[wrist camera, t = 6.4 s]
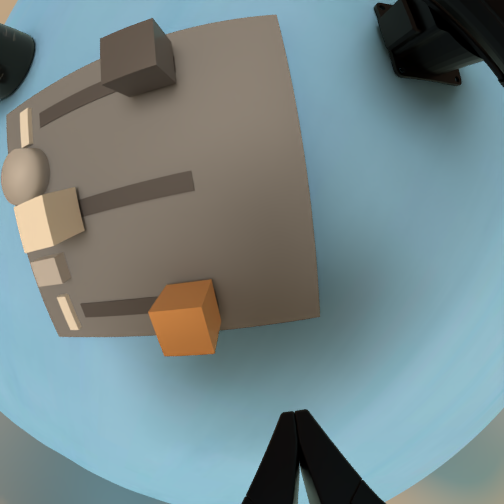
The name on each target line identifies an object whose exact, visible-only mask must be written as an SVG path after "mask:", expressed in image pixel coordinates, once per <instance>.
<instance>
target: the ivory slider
mask: <svg viewBox="0 0 504 504" xmlns="http://www.w3.org/2000/svg"><path fill="white" fill-rule="evenodd" d="M14 211H15V216H16V220H17V225H18V229H19V233H20V237H21V241H22V244H23V248H24V251H25V253H28V252H32V251H36V250H40V249H44V248H48V247H51V246H55V245H57V244H59V243H61V242H62V241H64V240H66V239H68V238H70V237H73V236H75V235H77V234H79V233H81V232H83V231H85V230H84V226H83V222H82V218H81V213H80V209H79V204H78V199H77V195H76V189H75V187H73V188H69V189H64V190H60V191H55V192H51V193H47V194H43V195H40V196H38V197H35V198H33V199H31V200H29V201H26V202H24V203H22V204H20V205H18V206H15V207H14Z"/></svg>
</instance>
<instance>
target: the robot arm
mask: <svg viewBox="0 0 504 504" xmlns="http://www.w3.org/2000/svg"><path fill="white" fill-rule="evenodd" d="M380 8H382V9H383V10H381V9H380ZM374 9H375V11H376V14H377V17H378V19H379V20H378V23H379V26H380V29H381V32H382V35H383V38H384V41H385V44H386V47H387V49H388V50H389V54H390V57H391V61H392V65H393V68H394V72H395V73H396V75H397V76H399V77H403V78H411V79H419V80H426V81H432V82H438V83H444V84H449V85H454V86H458V85H461V83H462V82H461V77H460V73H459V68H462V67H465V66H468V65H471V64H475V63H478V62H481V61H485V63H486V64H487V65H488V66H489V67H490V69H491V70H492V71H493V73H494V74H495V75H496V76H497V78H498V81H499V82H500V84H501V85H502V86H503V87H504V0H398V1H397V2H396V3H395V4H394V5H389V4H384V3H377V4H376V5H375V7H374ZM399 68H401V69H402V71H403V73H402V72H401V71H400V70H399ZM455 79H456V80H455ZM299 462H300V465H299ZM300 468H301V473H302V477H303V481H304V484H305V488H306V492H307V496H308V499H309V503H310V504H386V503H385V502H384V501H382V500H381V499H380V498H379V497H378V496H377V495H376V494H375V493H374V492H373V490H372V489H371V488H370V487H369V486H368V485H367V484H366V483H365V481H364V480H362V478H361V477H360V476H359V474H358V473H357V472H356V471H355V469H354V468H353V467H352V466H351V465H350V463H349V462H348V461H347V460H346V458H345V457H344V456H343V455H342V453H341V452H340V451H339V450H338V448H337V447H336V446H335V445H334V443H333V442H332V441H331V440H330V438H329V437H328V436H327V434H326V433H325V432H324V431H323V429H322V428H321V427H320V425H319V424H318V423H317V421H316V420H315V419H314V418H313V416H312V415H311V414H310V412H309V411H308V410H306V409H304V410H297V411H295V413H294V412H293V411H290V412H283V413H281V415H280V418H279V420H278V423H277V425H276V428H275V430H274V433H273V435H272V438H271V440H270V442H269V445H268V447H267V450H266V452H265V454H264V457H263V459H262V461H261V463H260V466H259V468H258V470H257V472H256V475H255V477H254V479H253V481H252V483H251V485H250V488H249V490H248V492H247V494H246V497H245V498H244V500H243V502H242V504H298V491H299V474H300ZM361 480H362V481H361Z"/></svg>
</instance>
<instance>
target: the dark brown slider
mask: <svg viewBox="0 0 504 504" xmlns="http://www.w3.org/2000/svg"><path fill="white" fill-rule="evenodd" d="M100 65H101V85H103V86H105V87H107V88H110V89H112V90H114V91H116V92H119V93H121V94H123V95H125V96H127V97H132V96H135V95H138V94H141V93H144V92H147V91H151V90H154V89H157V88H161V87H164V86H168V85H171V84H175V83H176V78H175V70H174V61H173V53H172V43H171V41H170V40H169V39H168V37H167V36H166V35H165V33H164V32H163V31H162V29H161V28H160V27H159V25H158V24H157V23H156V22H155V20H154V19H153V18H151V19H148V20H146V21H143V22H140V23H137V24H134V25H132V26H129V27H127V28H124V29H122V30H119V31H117V32H114V33H112V34H110V35H107V36H105V37H103V38H101V39H100Z"/></svg>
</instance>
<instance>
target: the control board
mask: <svg viewBox="0 0 504 504" xmlns="http://www.w3.org/2000/svg"><path fill="white" fill-rule="evenodd" d="M166 36H167V37H168V39H169V40H170V41H171V43H172V53H173V61H174V70H175V78H176V83H175V84H171V85H168V86H164V87H161V88H157V89H154V90H151V91H147V92H144V93H141V94H138V95H135V96H132V97H127V96H125V95H123V94H121V93H119V92H116V91H114V90H112V89H110V88H107V87H105V86H103V85H101V65H100V59H99V60H97V61H95V62H92V63H90V64H88V65H86V66H84V67H82V68H80V69H78V70H76V71H75V72H73V73H71V74H69V75H67V76H65V77H63V78H62V79H60V80H58V81H57V82H55V83H53V84H51V85H50V86H48V87H47V88H45V89H43V90H42V91H40V92H39V93H37V94H36V95H34V96H32V97H31V98H30V99H28V100H27V101H25V102H24V103H22V104H21V105H19V106H18V107H17V108H15V109H14V110H13V111H11V112H10V113H9V114H7V144H8V156H7V157H6V159H5V161H4V164H3V167H2V173H1V184H2V189H3V193H4V195H5V197H6V199H7V200H8V201H9V202H10V203H11V204H13V205H15V206H18V205H20V204H22V203H24V202H26V201H29V200H31V199H33V198H35V197H38V196H40V195H43V194H47V193H51V192H55V191H60V190H64V189H69V188H73V187H75V189H76V195H77V199H78V204H79V209H80V213H81V218H82V222H83V226H84V230H85V231H83V232H81V233H79V234H77V235H75V236H73V237H70V238H68V239H66V240H64V241H62V242H61V243H59V244H57V245H55V246H51V247H48V248H44V249H40V250H36V251H32V252H28V253H27V255H28V258H29V261H30V264H31V268H32V271H33V274H34V276H35V279H36V282H37V285H38V288H39V290H40V293H41V296H42V298H43V301H44V303H45V306H46V308H47V311H48V313H49V315H50V318H51V320H52V322H53V324H54V326H55V329H56V331H57V333H58V335H59V337H126V336H151V335H156V333H155V330H154V327H153V325H152V322H151V319H150V316H149V313H148V311H149V310H150V308H151V307H152V305H153V304H154V302H155V301H156V299H157V298H158V296H159V295H160V294H161V292H162V291H163V289H164V288H165V286H166V285H170V284H178V283H186V282H194V281H202V280H209V279H212V284H213V288H214V292H215V297H216V301H217V305H218V309H219V313H220V317H221V325H220V330H228V329H237V328H246V327H254V326H262V325H270V324H277V323H284V322H291V321H297V320H304V319H310V318H316V317H320V307H319V290H318V275H317V262H316V250H315V239H314V229H313V220H312V211H311V202H310V193H309V186H308V178H307V170H306V163H305V156H304V150H303V143H302V137H301V131H300V125H299V119H298V113H297V107H296V102H295V97H294V91H293V86H292V81H291V76H290V71H289V67H288V62H287V57H286V53H285V48H284V44H283V40H282V35H281V31H280V27H279V23H278V19H277V15H266V16H256V17H247V18H240V19H233V20H227V21H221V22H215V23H210V24H205V25H201V26H196V27H192V28H188V29H184V30H180V31H176V32H173V33H169V34H166Z"/></svg>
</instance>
